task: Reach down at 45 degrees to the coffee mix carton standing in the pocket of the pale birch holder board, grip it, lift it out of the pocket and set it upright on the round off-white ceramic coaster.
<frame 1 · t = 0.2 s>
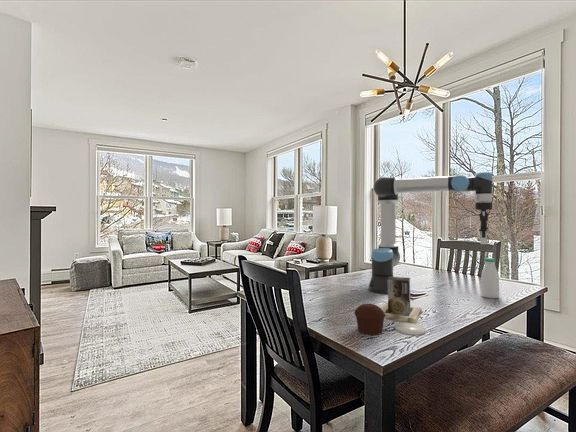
hand: (483, 242, 163), 28 cm above the table, tool pointing down, fingers open, 13 cm apart
coaster: (409, 329, 121), on the table
muffin: (369, 331, 120), on the table
milk bottle: (490, 297, 163), on the table
coffee box: (399, 315, 137), resting in holder board
holder board: (399, 314, 137), on the table
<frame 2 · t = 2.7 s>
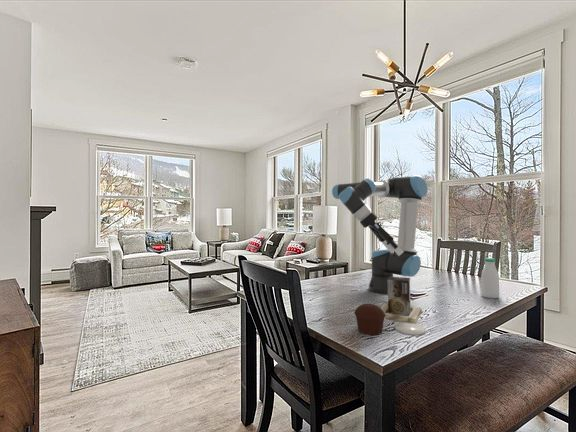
hand: (397, 252, 139), 27 cm above the table, tool tilted 40°, fingers open, 13 cm apart
nothing on the table moved.
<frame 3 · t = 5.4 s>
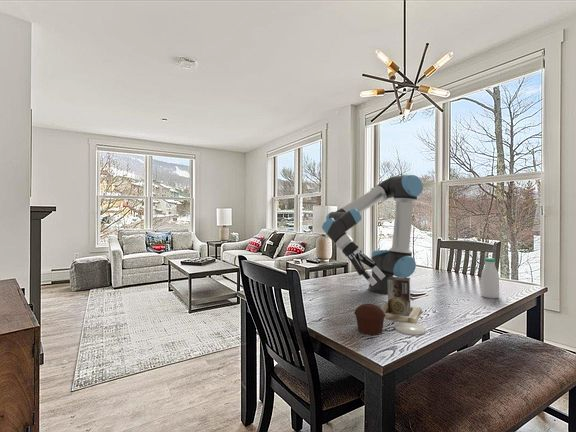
hand: (379, 281, 140), 14 cm above the table, tool tilted 45°, fingers open, 13 cm apart
nothing on the table moved.
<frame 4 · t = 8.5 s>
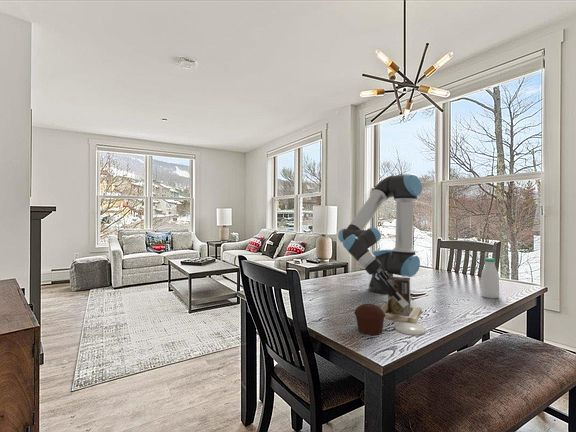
hand: (407, 303, 135), 5 cm above the table, tool tilted 45°, fingers closed on coffee box, 7 cm apart
coffee box: (399, 315, 137), resting in holder board, touching gripper
everything else where it was.
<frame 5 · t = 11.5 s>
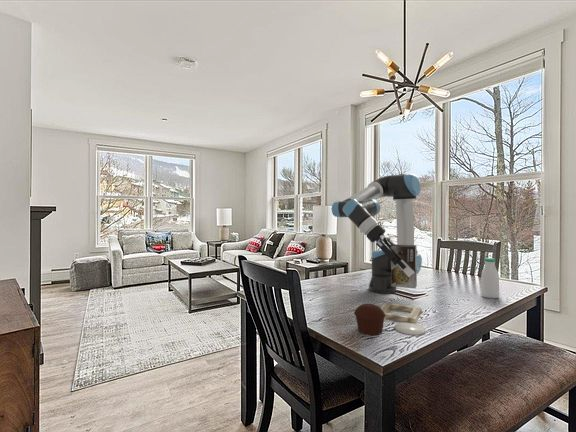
hand: (413, 273, 121), 22 cm above the table, tool tilted 45°, fingers closed on coffee box, 7 cm apart
coffee box: (403, 286, 123), point 16 cm above the table, touching gripper
everything else where it was.
when the fingers open (7 cm above the table, at t = 14.6 s): coffee box drops 1 cm, resting on coaster.
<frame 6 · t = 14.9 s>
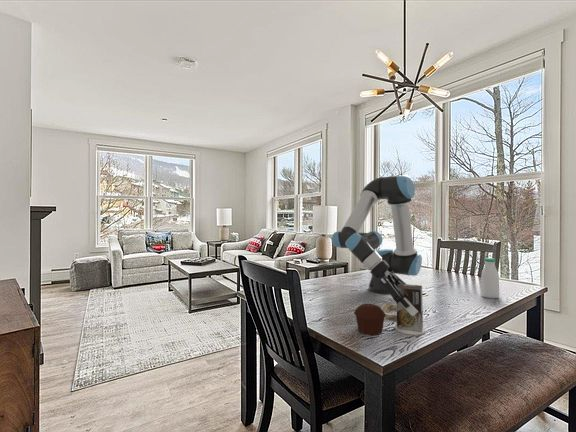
hand: (417, 309, 119), 8 cm above the table, tool tilted 45°, fingers open, 10 cm apart
coffee box: (409, 328, 121), resting on coaster
everything else where it was.
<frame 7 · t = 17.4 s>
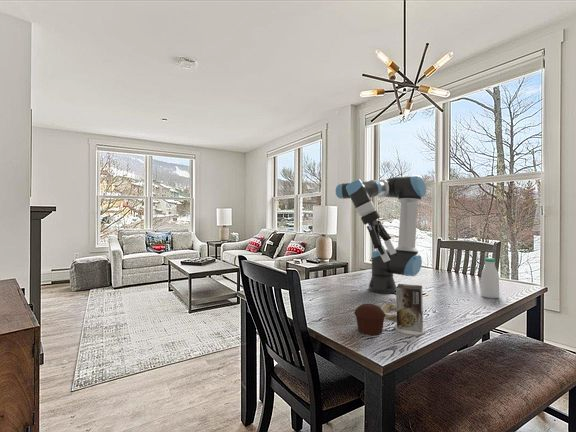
hand: (390, 257, 135), 26 cm above the table, tool tilted 25°, fingers open, 13 cm apart
nothing on the table moved.
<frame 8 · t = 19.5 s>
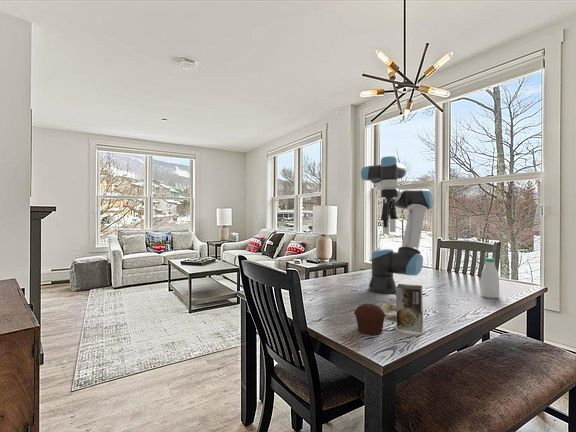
hand: (389, 233, 151), 35 cm above the table, tool pointing down, fingers open, 13 cm apart
nothing on the table moved.
at the end: coffee box 0.1 cm from the coaster (horizontally); coffee box tilted 0°; coffee box resting on coaster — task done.
